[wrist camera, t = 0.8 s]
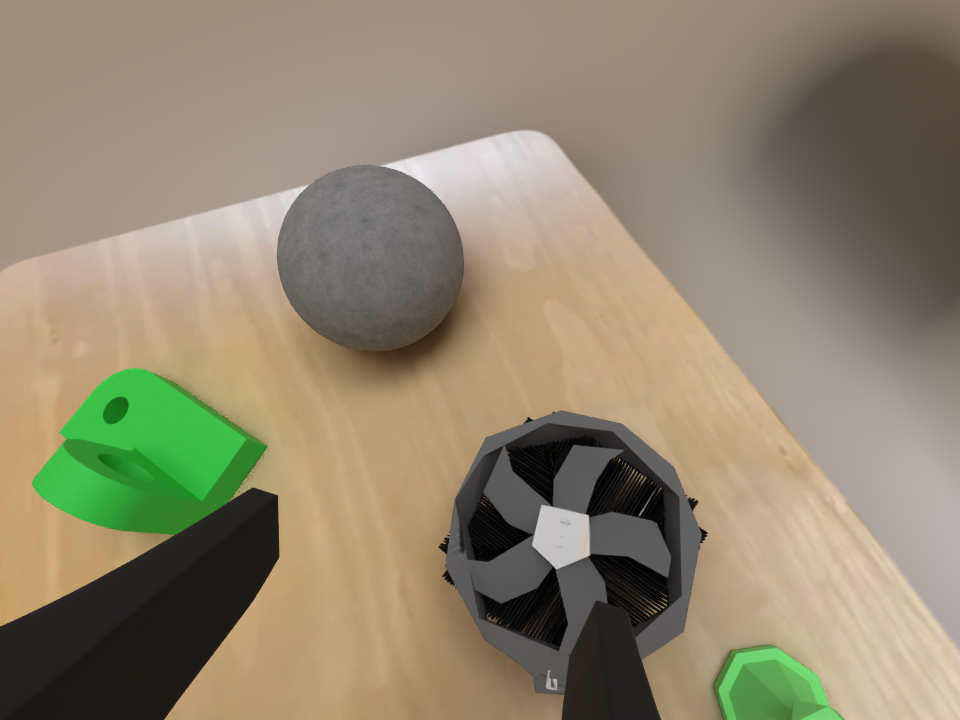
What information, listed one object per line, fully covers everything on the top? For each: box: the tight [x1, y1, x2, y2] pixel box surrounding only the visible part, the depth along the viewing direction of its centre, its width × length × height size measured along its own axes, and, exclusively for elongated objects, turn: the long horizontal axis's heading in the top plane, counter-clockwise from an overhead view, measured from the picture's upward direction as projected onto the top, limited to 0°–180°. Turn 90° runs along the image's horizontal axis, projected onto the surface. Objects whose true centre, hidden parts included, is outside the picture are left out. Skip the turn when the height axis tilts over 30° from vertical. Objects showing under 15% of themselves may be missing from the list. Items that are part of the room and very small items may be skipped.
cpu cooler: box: [439, 411, 708, 695], centre depth 22 cm, size 10×6×10 cm
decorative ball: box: [277, 165, 464, 351], centre depth 27 cm, size 10×10×10 cm
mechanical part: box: [33, 368, 267, 535], centre depth 27 cm, size 12×6×8 cm, turn 59°
